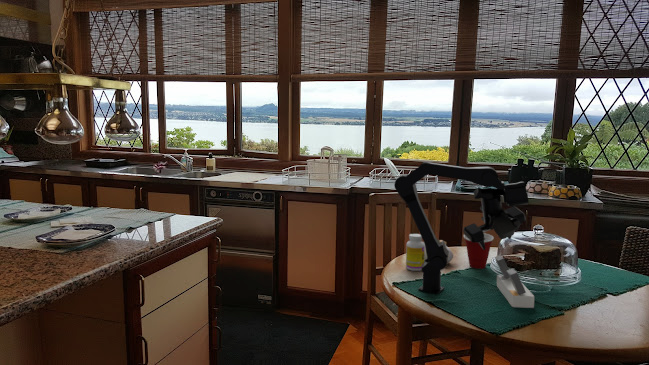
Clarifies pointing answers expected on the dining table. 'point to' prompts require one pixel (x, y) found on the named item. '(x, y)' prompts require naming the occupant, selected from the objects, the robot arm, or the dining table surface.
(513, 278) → the grey rectangular block
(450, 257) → the cat figurine
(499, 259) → the lever grey tag
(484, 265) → the plastic cup
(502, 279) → the switch console
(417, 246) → the supplement bottle
